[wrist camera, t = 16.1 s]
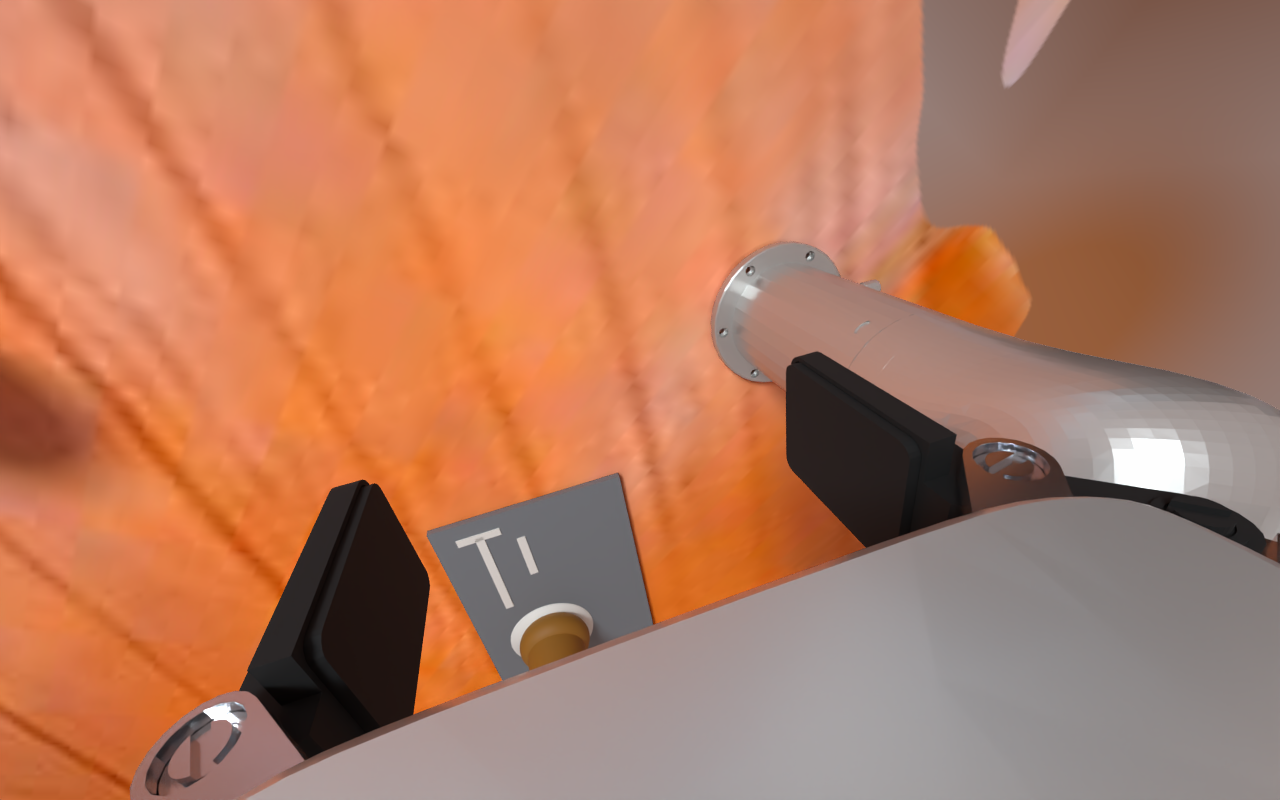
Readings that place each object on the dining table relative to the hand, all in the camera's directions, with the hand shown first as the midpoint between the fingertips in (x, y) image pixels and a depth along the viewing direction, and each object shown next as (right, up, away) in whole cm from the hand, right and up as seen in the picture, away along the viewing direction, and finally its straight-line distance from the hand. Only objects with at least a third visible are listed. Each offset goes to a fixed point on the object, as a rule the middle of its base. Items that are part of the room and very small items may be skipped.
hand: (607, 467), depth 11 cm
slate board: (-8, -18, +40) cm, 45 cm away
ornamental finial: (-9, -24, +42) cm, 49 cm away
